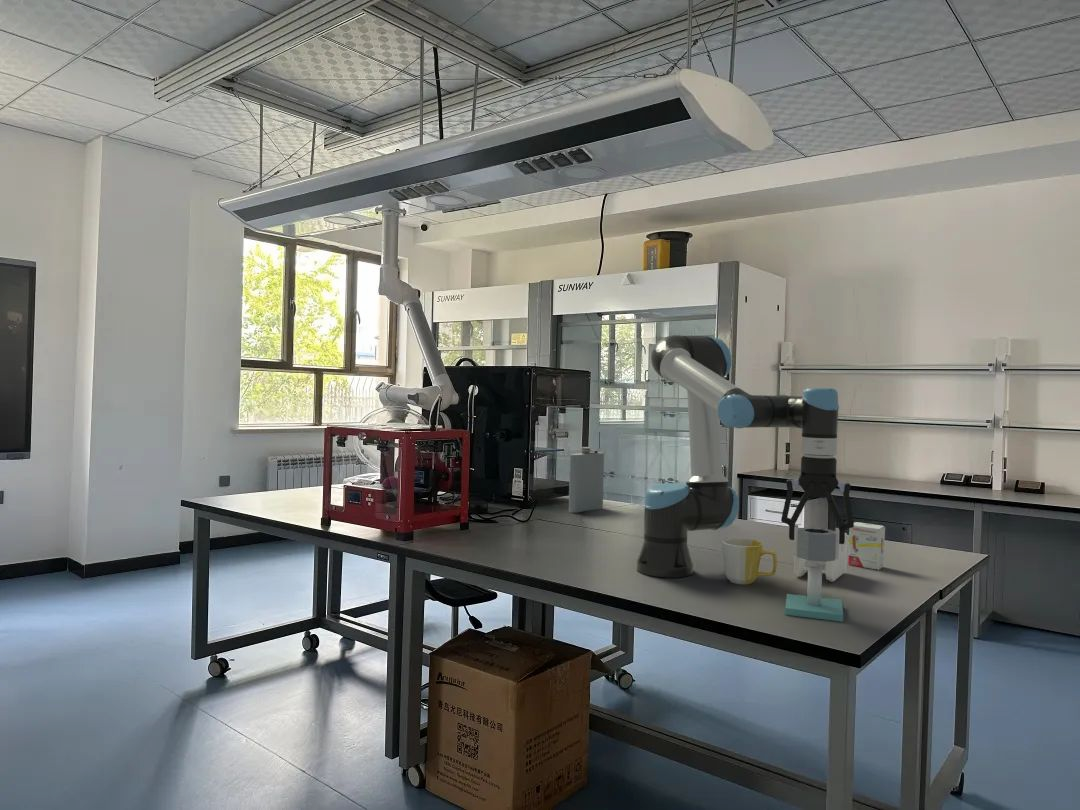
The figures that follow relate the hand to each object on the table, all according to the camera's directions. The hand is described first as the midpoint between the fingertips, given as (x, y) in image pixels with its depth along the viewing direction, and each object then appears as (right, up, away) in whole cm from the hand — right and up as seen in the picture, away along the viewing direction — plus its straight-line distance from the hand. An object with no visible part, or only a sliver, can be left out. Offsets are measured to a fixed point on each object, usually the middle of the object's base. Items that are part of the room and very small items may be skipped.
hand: (815, 556), depth 169 cm
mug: (-9, -12, +23) cm, 27 cm away
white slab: (-45, -8, +126) cm, 134 cm away
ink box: (+30, -12, +44) cm, 54 cm away
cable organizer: (+13, -12, +32) cm, 36 cm away
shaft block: (0, -12, +1) cm, 13 cm away
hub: (0, 0, 0) cm, 0 cm away
